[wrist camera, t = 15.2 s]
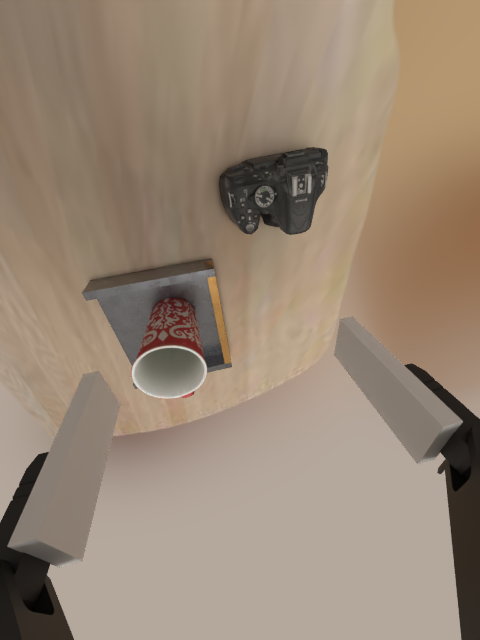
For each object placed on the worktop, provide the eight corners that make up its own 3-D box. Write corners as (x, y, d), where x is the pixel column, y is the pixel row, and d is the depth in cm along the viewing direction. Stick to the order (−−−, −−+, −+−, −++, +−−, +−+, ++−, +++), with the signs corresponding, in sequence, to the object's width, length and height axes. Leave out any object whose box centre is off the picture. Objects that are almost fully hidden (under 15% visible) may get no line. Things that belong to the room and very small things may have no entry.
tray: (90, 280, 36) (81, 292, 33) (211, 258, 38) (214, 268, 34) (138, 372, 47) (135, 388, 44) (228, 352, 49) (232, 366, 46)
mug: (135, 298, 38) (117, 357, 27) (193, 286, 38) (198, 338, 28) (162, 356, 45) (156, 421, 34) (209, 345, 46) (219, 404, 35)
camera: (244, 243, 37) (261, 268, 29) (206, 180, 32) (214, 189, 24) (321, 191, 35) (362, 202, 27) (295, 114, 30) (337, 99, 22)
